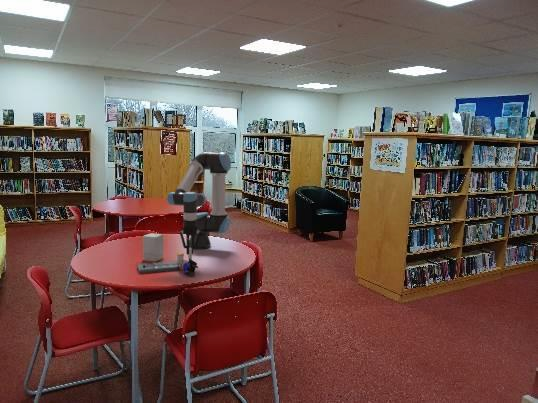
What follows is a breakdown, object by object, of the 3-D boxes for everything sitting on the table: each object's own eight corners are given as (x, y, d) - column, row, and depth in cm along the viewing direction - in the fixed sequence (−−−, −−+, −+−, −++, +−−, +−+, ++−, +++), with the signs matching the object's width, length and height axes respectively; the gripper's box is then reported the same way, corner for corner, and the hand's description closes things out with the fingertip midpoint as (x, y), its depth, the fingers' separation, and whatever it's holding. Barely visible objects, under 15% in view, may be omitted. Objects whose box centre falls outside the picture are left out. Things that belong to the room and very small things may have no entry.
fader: (182, 262, 237) (182, 252, 236) (183, 263, 235) (183, 254, 234) (177, 262, 236) (177, 253, 235) (177, 264, 233) (177, 254, 233)
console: (187, 263, 243) (187, 258, 242) (191, 269, 232) (191, 264, 231) (137, 267, 233) (137, 262, 232) (139, 273, 222) (139, 268, 221)
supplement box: (164, 258, 252) (163, 234, 250) (155, 262, 244) (155, 237, 241) (151, 256, 255) (151, 232, 253) (142, 260, 246) (142, 235, 244)
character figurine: (188, 279, 216) (177, 271, 229) (200, 275, 220) (190, 268, 233) (187, 264, 215) (176, 258, 227) (200, 262, 219) (189, 255, 231)
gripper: (200, 217, 239) (199, 256, 243) (177, 218, 235) (177, 258, 238) (202, 220, 233) (202, 260, 236) (179, 221, 228) (179, 262, 231)
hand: (190, 259), depth 237 cm, fingers closed
